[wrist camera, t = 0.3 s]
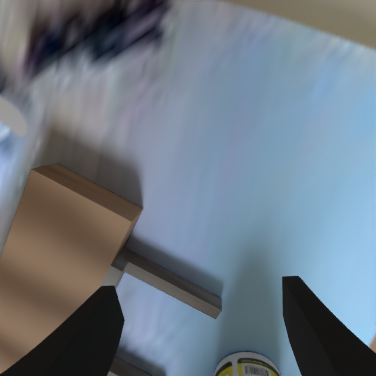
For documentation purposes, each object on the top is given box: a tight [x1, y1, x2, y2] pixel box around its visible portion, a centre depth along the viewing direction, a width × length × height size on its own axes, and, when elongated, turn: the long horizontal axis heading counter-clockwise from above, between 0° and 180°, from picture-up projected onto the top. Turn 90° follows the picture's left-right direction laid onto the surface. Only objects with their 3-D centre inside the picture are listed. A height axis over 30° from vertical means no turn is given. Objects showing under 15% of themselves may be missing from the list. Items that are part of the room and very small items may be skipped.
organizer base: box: [0, 163, 222, 376], centre depth 23 cm, size 20×18×3 cm
